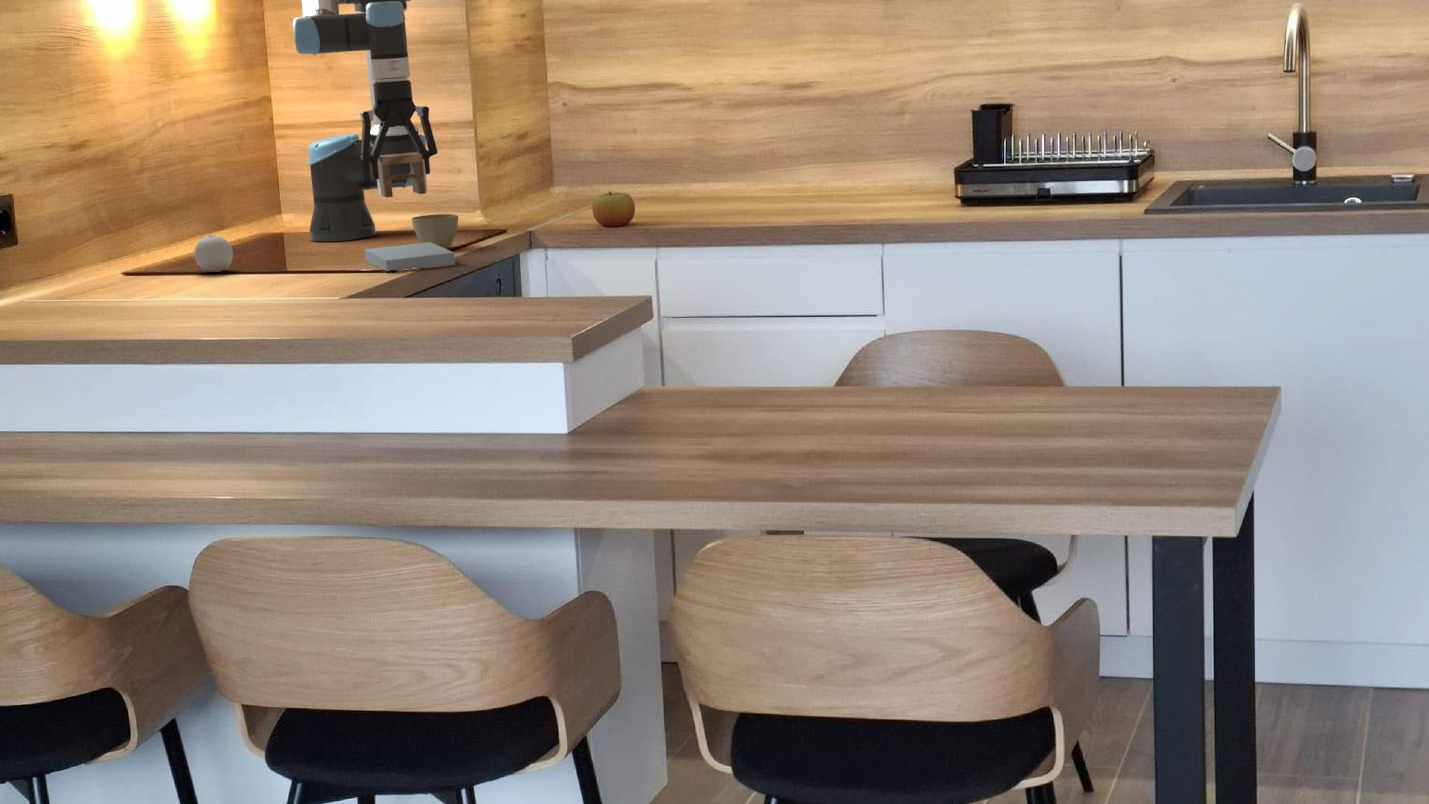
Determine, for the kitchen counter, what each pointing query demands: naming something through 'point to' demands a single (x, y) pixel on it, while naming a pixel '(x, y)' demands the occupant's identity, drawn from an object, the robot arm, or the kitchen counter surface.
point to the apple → (613, 209)
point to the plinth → (410, 256)
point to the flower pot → (436, 228)
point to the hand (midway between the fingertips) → (402, 192)
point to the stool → (416, 175)
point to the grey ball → (213, 253)
